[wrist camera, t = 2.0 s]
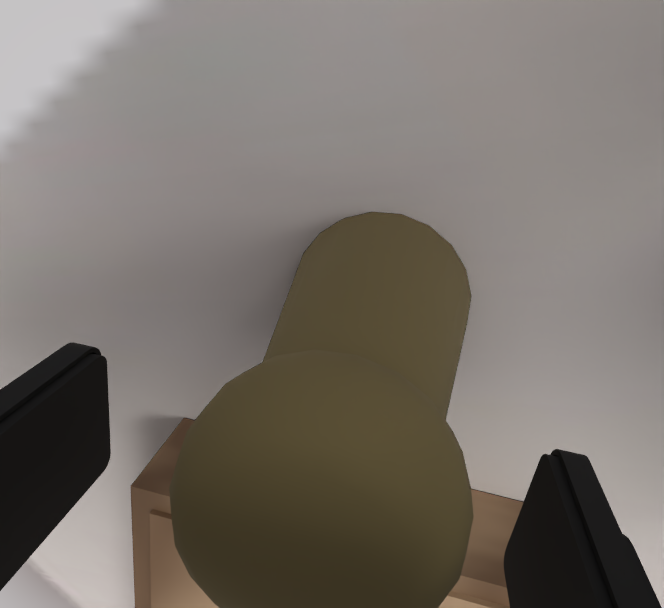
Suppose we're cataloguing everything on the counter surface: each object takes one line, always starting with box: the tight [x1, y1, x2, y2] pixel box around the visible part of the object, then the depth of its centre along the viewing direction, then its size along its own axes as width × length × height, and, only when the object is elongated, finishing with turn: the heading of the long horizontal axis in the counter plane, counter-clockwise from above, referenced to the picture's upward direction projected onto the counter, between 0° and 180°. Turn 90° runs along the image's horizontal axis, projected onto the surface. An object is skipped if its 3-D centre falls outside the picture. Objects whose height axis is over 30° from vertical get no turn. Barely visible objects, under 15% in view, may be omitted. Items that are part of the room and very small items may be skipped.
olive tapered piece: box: [169, 212, 474, 608], centre depth 12 cm, size 6×6×11 cm
